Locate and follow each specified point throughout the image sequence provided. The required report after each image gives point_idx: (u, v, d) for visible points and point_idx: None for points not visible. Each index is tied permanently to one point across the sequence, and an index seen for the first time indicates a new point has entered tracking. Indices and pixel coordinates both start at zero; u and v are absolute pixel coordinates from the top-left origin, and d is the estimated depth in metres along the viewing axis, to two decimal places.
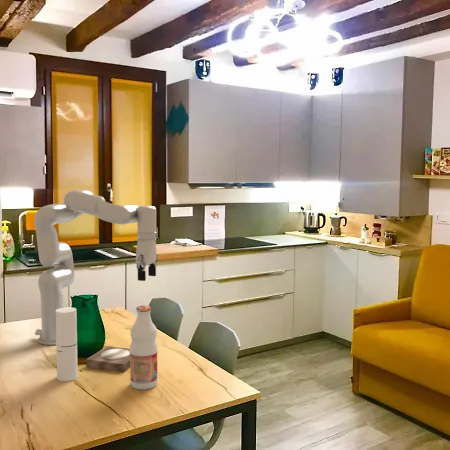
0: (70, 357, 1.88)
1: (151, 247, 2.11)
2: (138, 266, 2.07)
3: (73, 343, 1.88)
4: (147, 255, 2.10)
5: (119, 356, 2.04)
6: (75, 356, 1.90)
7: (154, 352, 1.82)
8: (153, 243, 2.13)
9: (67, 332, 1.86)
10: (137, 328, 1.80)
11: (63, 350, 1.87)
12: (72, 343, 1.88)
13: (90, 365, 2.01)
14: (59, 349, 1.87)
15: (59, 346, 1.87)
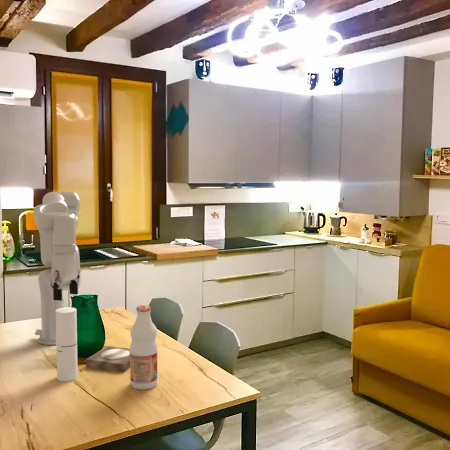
0: (70, 357, 1.88)
1: (69, 262, 1.85)
2: (52, 284, 1.80)
3: (73, 343, 1.88)
4: (64, 271, 1.83)
5: (119, 356, 2.04)
6: (75, 356, 1.90)
7: (154, 352, 1.82)
8: (72, 257, 1.87)
9: (67, 332, 1.86)
10: (137, 328, 1.80)
11: (63, 350, 1.87)
12: (72, 343, 1.88)
13: (90, 365, 2.01)
14: (59, 349, 1.87)
15: (59, 346, 1.87)
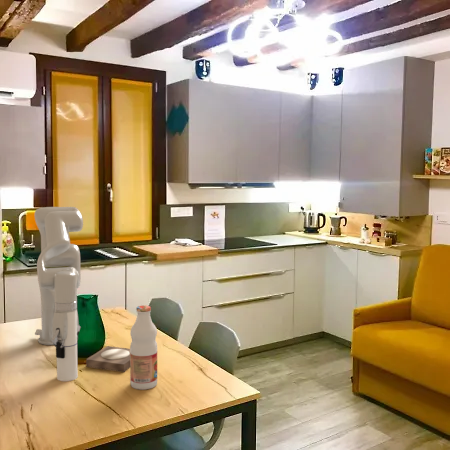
0: (70, 357, 1.88)
1: None
2: (55, 343, 1.83)
3: (73, 343, 1.88)
4: (65, 328, 1.85)
5: (119, 356, 2.04)
6: (75, 356, 1.90)
7: (154, 352, 1.82)
8: None
9: (67, 332, 1.86)
10: (137, 328, 1.80)
11: None
12: (72, 343, 1.88)
13: (90, 365, 2.01)
14: None
15: None
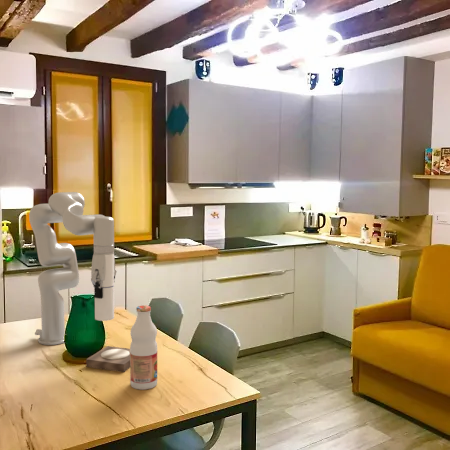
0: (108, 298, 1.98)
1: None
2: (94, 283, 1.93)
3: (110, 285, 1.98)
4: (103, 270, 1.95)
5: (119, 356, 2.04)
6: (112, 297, 1.99)
7: (154, 352, 1.82)
8: None
9: (105, 274, 1.96)
10: (137, 328, 1.80)
11: None
12: (109, 284, 1.98)
13: (90, 365, 2.01)
14: None
15: None
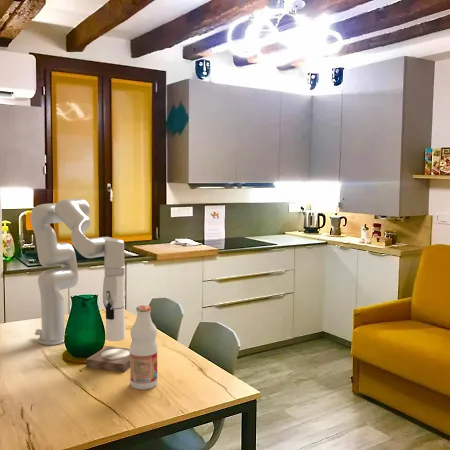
0: (119, 319, 2.02)
1: None
2: (106, 305, 1.98)
3: (121, 306, 2.03)
4: (115, 292, 2.00)
5: (119, 356, 2.04)
6: (123, 318, 2.04)
7: (154, 352, 1.82)
8: None
9: (116, 295, 2.01)
10: (137, 328, 1.80)
11: None
12: (121, 306, 2.02)
13: (90, 365, 2.01)
14: None
15: None
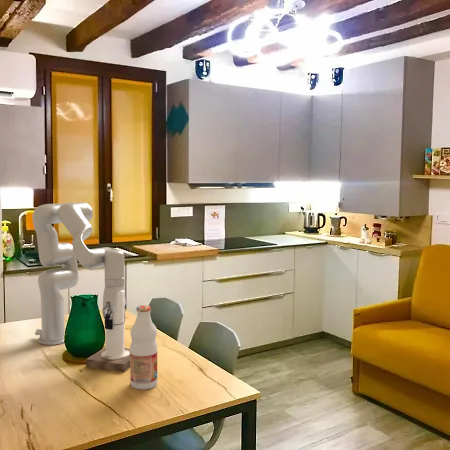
0: (119, 335, 2.03)
1: None
2: (104, 315, 1.97)
3: (121, 322, 2.03)
4: (115, 302, 2.00)
5: (119, 356, 2.04)
6: (123, 334, 2.05)
7: (154, 352, 1.82)
8: (121, 289, 2.04)
9: (116, 311, 2.01)
10: (137, 328, 1.80)
11: None
12: (120, 321, 2.03)
13: (90, 365, 2.01)
14: None
15: None
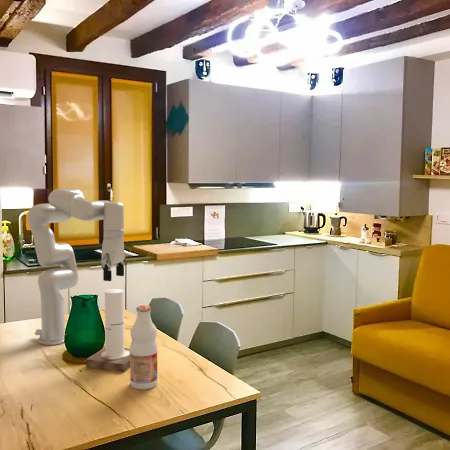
0: (118, 335, 2.03)
1: (117, 246, 2.01)
2: (103, 265, 1.96)
3: (121, 322, 2.03)
4: (114, 254, 1.99)
5: (119, 356, 2.04)
6: (122, 334, 2.05)
7: (154, 352, 1.82)
8: (120, 241, 2.03)
9: (116, 311, 2.01)
10: (137, 328, 1.80)
11: (112, 328, 2.02)
12: (120, 321, 2.03)
13: (90, 365, 2.01)
14: (108, 327, 2.02)
15: (108, 324, 2.02)
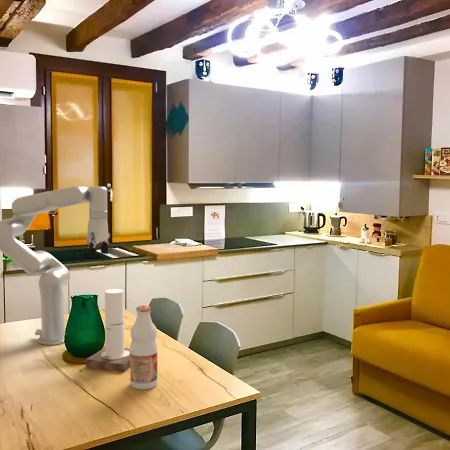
0: (118, 335, 2.03)
1: (102, 226, 2.23)
2: (88, 243, 2.18)
3: (121, 322, 2.03)
4: (98, 233, 2.21)
5: (119, 356, 2.04)
6: (122, 334, 2.05)
7: (154, 352, 1.82)
8: (104, 222, 2.25)
9: (116, 311, 2.01)
10: (137, 328, 1.80)
11: (112, 328, 2.02)
12: (120, 321, 2.03)
13: (90, 365, 2.01)
14: (108, 327, 2.02)
15: (108, 324, 2.02)
